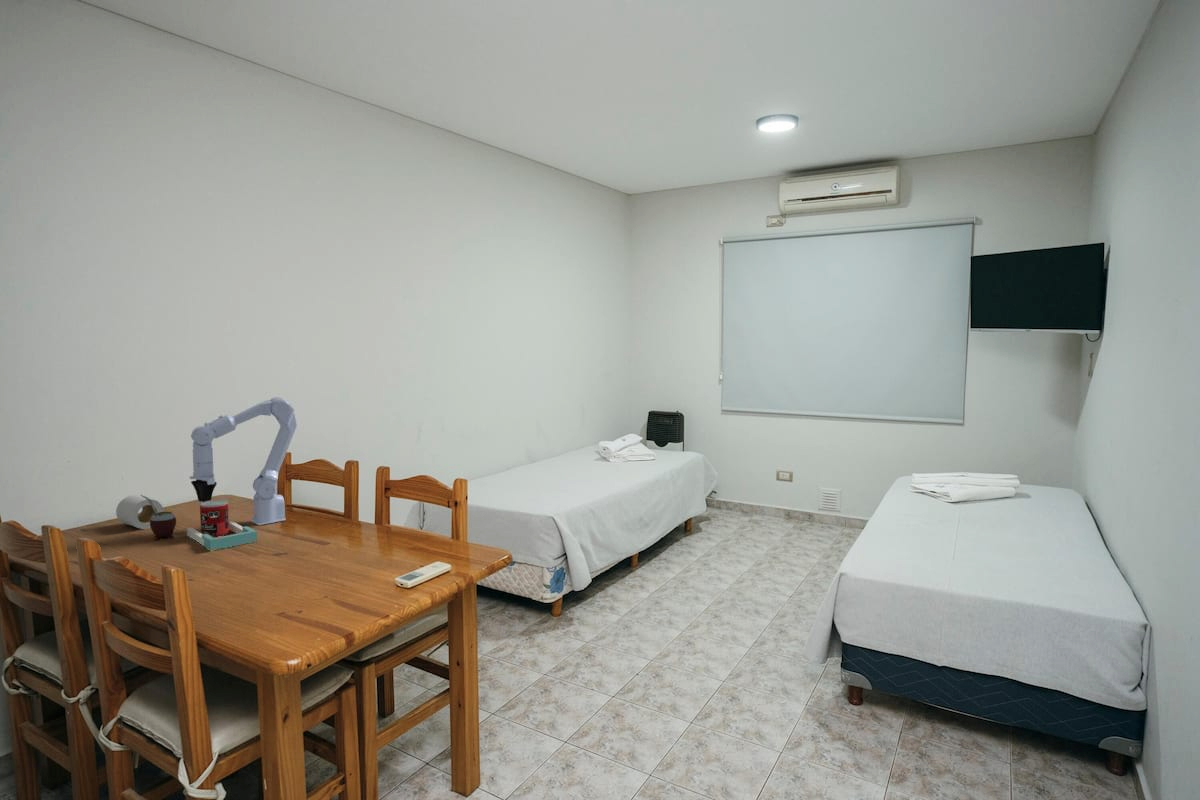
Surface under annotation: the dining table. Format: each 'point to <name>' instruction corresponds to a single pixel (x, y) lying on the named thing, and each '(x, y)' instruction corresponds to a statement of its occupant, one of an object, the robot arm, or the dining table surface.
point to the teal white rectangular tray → (225, 537)
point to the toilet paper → (130, 509)
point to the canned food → (214, 517)
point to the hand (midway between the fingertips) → (204, 502)
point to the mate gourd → (162, 523)
